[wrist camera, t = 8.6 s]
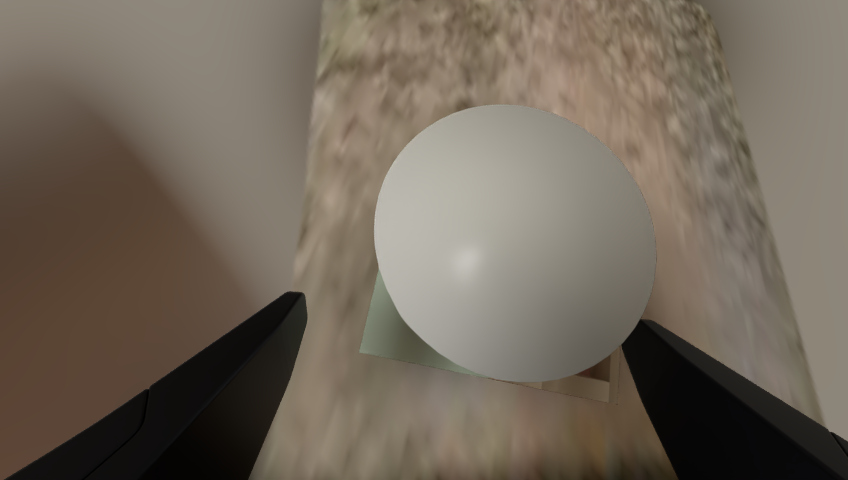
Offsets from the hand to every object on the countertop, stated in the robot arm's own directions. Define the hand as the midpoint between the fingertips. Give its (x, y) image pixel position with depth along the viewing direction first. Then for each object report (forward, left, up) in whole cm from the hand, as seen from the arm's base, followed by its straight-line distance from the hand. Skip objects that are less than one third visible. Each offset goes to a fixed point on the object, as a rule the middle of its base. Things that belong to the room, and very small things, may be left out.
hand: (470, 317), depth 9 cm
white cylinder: (+1, +1, -8) cm, 9 cm away
